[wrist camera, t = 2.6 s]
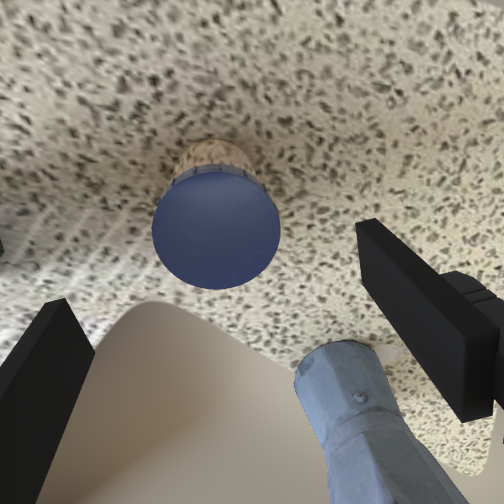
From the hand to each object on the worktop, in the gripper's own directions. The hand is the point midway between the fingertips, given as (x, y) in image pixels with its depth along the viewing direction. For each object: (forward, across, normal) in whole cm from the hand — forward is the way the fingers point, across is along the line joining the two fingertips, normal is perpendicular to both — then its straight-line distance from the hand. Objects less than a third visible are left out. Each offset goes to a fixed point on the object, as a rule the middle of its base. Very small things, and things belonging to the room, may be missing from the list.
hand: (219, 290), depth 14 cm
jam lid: (+5, 0, 0) cm, 5 cm away
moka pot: (+15, +7, -22) cm, 28 cm away
